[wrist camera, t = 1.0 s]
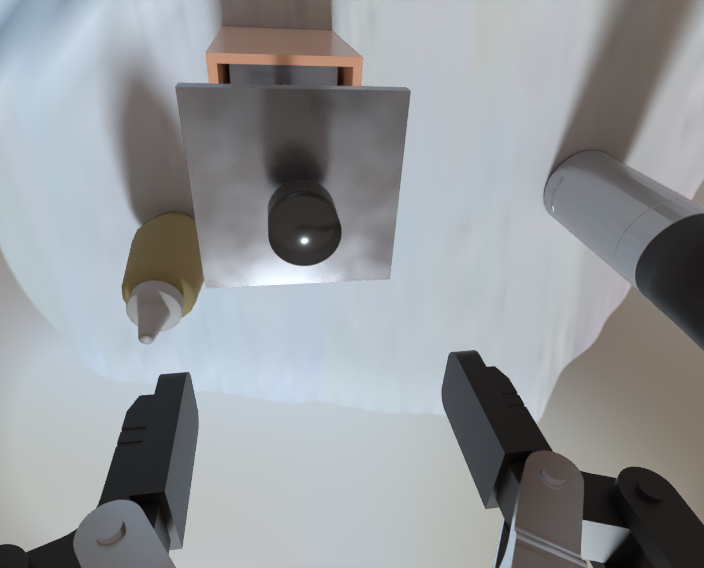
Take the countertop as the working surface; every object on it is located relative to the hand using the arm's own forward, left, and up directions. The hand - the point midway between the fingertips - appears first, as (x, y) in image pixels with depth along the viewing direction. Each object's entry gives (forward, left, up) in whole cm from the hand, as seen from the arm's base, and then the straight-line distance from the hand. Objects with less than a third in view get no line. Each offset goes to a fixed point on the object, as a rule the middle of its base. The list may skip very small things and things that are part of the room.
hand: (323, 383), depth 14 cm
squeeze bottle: (+12, +16, -40) cm, 45 cm away
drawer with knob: (0, 0, -28) cm, 28 cm away
